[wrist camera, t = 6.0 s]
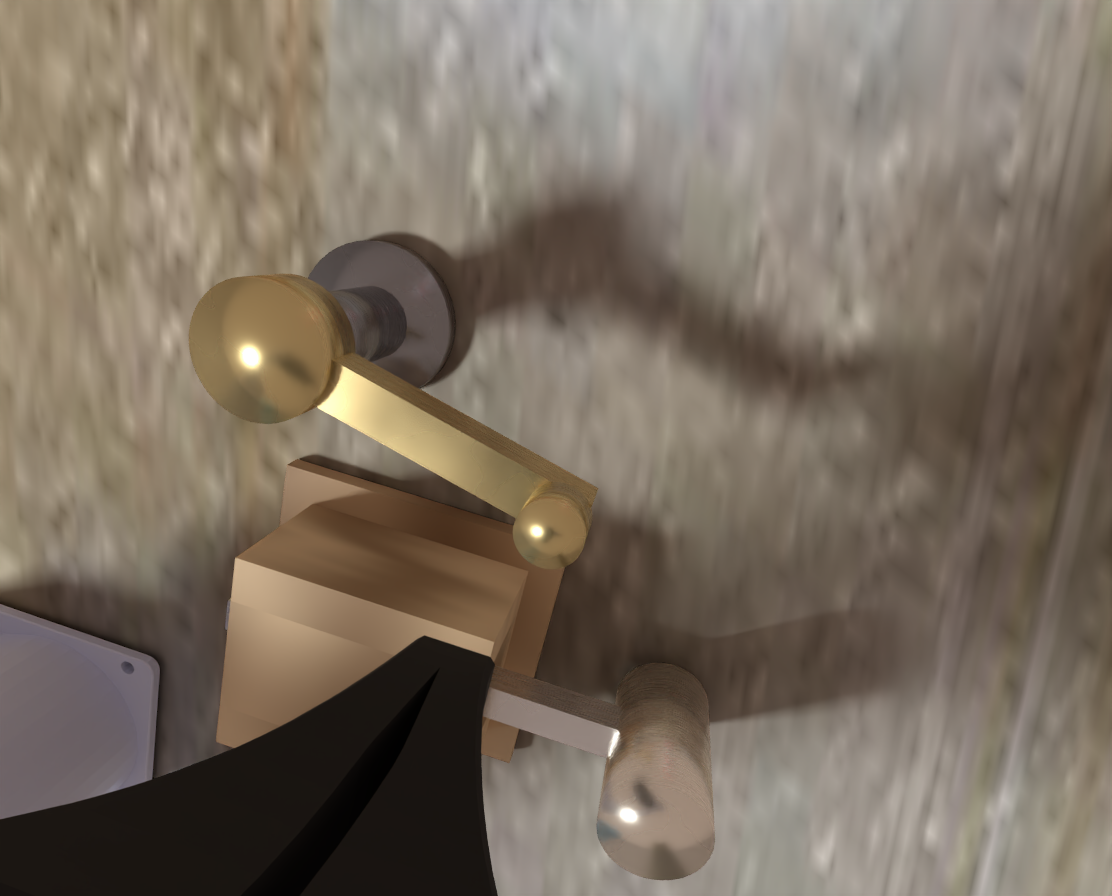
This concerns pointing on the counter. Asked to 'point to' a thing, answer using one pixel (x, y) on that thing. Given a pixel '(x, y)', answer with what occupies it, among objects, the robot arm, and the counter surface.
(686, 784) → the hook rod
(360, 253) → the lever post
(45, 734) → the robot arm
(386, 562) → the block
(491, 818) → the counter surface
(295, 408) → the lever
